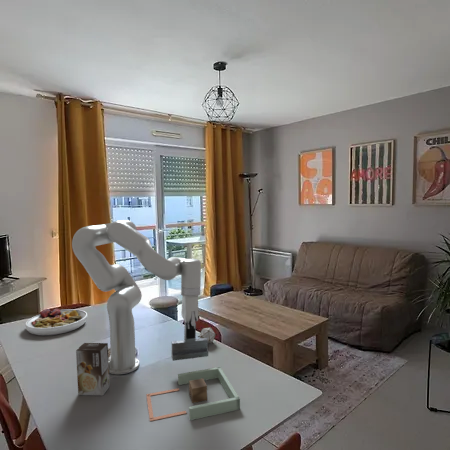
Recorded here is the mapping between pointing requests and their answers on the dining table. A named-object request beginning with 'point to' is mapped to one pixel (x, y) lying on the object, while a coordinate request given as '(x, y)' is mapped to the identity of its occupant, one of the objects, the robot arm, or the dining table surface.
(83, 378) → the coffee box
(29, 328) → the plate of food
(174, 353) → the rake
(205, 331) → the game die
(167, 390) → the terracotta bay outline
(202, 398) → the walnut block
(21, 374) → the dining table surface
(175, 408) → the dining table surface
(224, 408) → the sage pen
